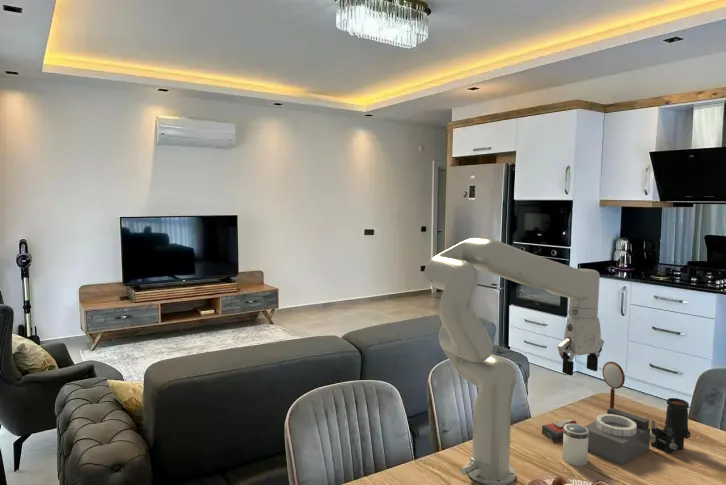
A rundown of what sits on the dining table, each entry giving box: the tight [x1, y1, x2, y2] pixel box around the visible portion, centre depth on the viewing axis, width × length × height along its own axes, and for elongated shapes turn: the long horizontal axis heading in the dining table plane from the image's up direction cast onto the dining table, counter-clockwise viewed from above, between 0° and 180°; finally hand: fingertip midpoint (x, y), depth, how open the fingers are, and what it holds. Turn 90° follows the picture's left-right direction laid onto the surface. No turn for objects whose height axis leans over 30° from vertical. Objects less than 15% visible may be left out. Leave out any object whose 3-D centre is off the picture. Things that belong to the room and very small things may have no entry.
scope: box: [650, 397, 692, 455], centre depth 146 cm, size 8×14×10 cm
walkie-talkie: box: [541, 417, 580, 442], centre depth 155 cm, size 9×4×20 cm
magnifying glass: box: [602, 361, 626, 409], centre depth 163 cm, size 9×2×20 cm, turn 18°
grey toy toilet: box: [583, 407, 651, 466], centre depth 146 cm, size 16×12×8 cm
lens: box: [562, 423, 589, 467], centre depth 139 cm, size 6×6×9 cm
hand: (579, 371), depth 142 cm, fingers open, 9 cm apart
